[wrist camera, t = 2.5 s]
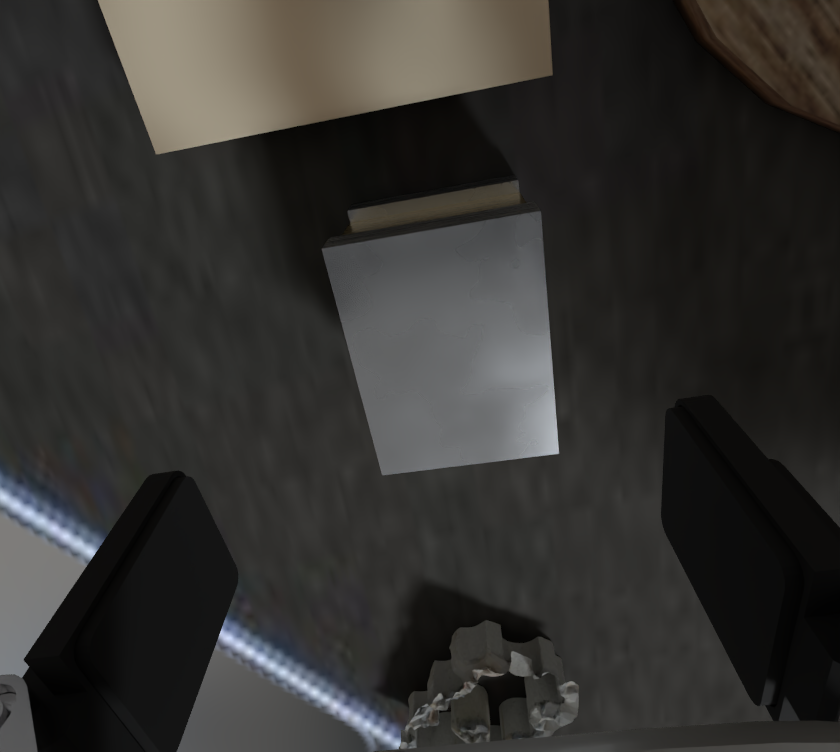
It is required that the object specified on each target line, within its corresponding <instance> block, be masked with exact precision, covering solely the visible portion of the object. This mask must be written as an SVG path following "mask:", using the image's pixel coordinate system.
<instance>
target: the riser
mask: <svg viewBox="0 0 840 752" xmlns="http://www.w3.org/2000/svg"><path fill="white" fill-rule="evenodd" d="M98 2H99V5H100V7H101V10H102V13H103V15H104V18H105V21H106V23H107V26H108V28H109V31H110V34H111V36H112V39H113V42H114V44H115V47H116V50H117V52H118V55H119V57H120V60H121V63H122V65H123V68H124V71H125V73H126V76H127V78H128V81H129V84H130V86H131V89H132V92H133V94H134V97H135V99H136V102H137V105H138V107H139V110H140V113H141V115H142V118H143V121H144V123H145V126H146V128H147V131H148V134H149V136H150V139H151V142H152V144H153V147H154V149H155V152H156V154H161V153H166V152H171V151H176V150H181V149H186V148H191V147H196V146H201V145H206V144H211V143H216V142H221V141H226V140H231V139H236V138H241V137H246V136H251V135H256V134H261V133H266V132H271V131H276V130H281V129H286V128H291V127H296V126H301V125H306V124H311V123H316V122H321V121H326V120H331V119H336V118H341V117H346V116H351V115H356V114H361V113H366V112H371V111H376V110H381V109H386V108H391V107H396V106H401V105H406V104H411V103H416V102H421V101H426V100H431V99H436V98H441V97H446V96H451V95H456V94H461V93H466V92H471V91H476V90H481V89H486V88H491V87H496V86H501V85H506V84H511V83H516V82H521V81H526V80H531V79H536V78H541V77H546V76H551V75H553V73H552V56H551V38H550V21H549V4H548V0H98Z"/></svg>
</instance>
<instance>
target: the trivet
mask: <svg viewBox="0 0 840 752" xmlns="http://www.w3.org/2000/svg"><path fill="white" fill-rule="evenodd" d="M673 2H674V4H675V6H676V7H677V9H678V11H679V13H680V14H681V16H682V18H683V20H684V21H685V23H686V25H687V27H688V28H689V30H690V32H691V34H692V36H693V37H694V39H695V41H696V42H697V43H699V44H700V45H701V46H702V47H703V48H704V49H705V50H706V51H707V52H709V53H710V54H711V55H712V56H713V57H714V58H715V59H716V60H718V61H719V62H720V63H721V64H722V65H723V66H724V67H725V68H727V69H728V70H729V71H730V72H731V73H732V74H733V75H734V76H735V77H737V78H738V79H739V80H740V81H741V82H742V83H743V84H744V85H746V86H747V87H748V88H749V89H750V90H751V91H752V92H753V93H754V94H756V95H757V96H758V97H759V98H760V99H761V100H762V101H763V102H765V103H766V104H768V105H771V106H773V107H776V108H778V109H781V110H783V111H786V112H788V113H791V114H793V115H796V116H798V117H801V118H803V119H806V120H808V121H811V122H813V123H816V124H818V125H821V126H823V127H825V128H828V129H830V130H833V131H835V132H838V133H840V0H673Z"/></svg>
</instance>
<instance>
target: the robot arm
mask: <svg viewBox="0 0 840 752" xmlns="http://www.w3.org/2000/svg"><path fill="white" fill-rule="evenodd" d="M661 518H662V524H663V528H664V531H665V533H666V535H667V537H668V539H669V541H670V543H671V545H672V547H673V549H674V551H675V553H676V555H677V557H678V559H679V561H680V563H681V565H682V567H683V569H684V570H685V572H686V574H687V576H688V578H689V580H690V582H691V584H692V586H693V588H694V590H695V592H696V594H697V596H698V598H699V600H700V602H701V604H702V606H703V607H704V609H705V611H706V613H707V615H708V617H709V619H710V621H711V623H712V625H713V627H714V629H715V631H716V633H717V635H718V637H719V639H720V641H721V643H722V644H723V646H724V648H725V650H726V652H727V654H728V656H729V658H730V660H731V662H732V664H733V666H734V668H735V670H736V672H737V674H738V676H739V678H740V680H741V681H742V683H743V685H744V687H745V689H746V691H747V693H748V695H749V697H750V698H751V700H752V701H753V702H754V704H756V705H757V706H761V705H765V706H766V708H767V710H768V712H769V713H770V715H771V717H772V719H773V721H755V722H740V723H724V724H709V725H693V726H678V727H662V728H647V729H635V730H622V731H610V732H598V733H586V734H574V735H562V736H550V737H538V738H525V739H513V740H501V741H489V742H477V743H466V744H454V745H443V746H432V747H420V748H409V749H397V750H386V751H375V752H840V528H839V526H838V525H837V524H836V523H835V522H834V521H833V520H832V519H831V518H830V516H829V515H828V514H827V513H826V512H825V511H824V510H823V509H822V508H821V506H820V505H819V504H818V503H817V502H816V501H815V500H814V499H813V497H812V496H811V495H810V494H809V493H808V492H807V491H806V490H805V489H804V487H803V486H802V485H801V484H800V483H799V482H798V481H797V480H796V479H795V477H794V476H793V475H792V474H791V473H790V472H789V471H788V470H787V469H786V467H785V466H783V465H782V464H781V463H780V462H779V461H776V460H774V459H767V458H766V456H765V455H764V454H763V453H762V452H761V451H760V449H759V448H758V447H757V446H756V445H755V444H754V443H753V441H752V440H751V439H750V438H749V437H748V436H747V435H746V433H745V432H744V431H743V430H742V429H741V428H740V427H739V425H738V424H737V423H736V422H735V421H734V420H733V419H732V417H731V416H730V415H729V414H728V413H727V412H726V410H725V409H724V408H723V407H722V406H721V405H720V404H719V402H718V401H717V400H716V399H715V398H714V397H713V396H711V395H705V396H698V397H691V398H684V399H678V400H677V401H676V403H675V408H669V409H667V411H666V416H665V439H664V461H663V484H662V506H661ZM237 584H238V570H237V567H236V565H235V563H234V561H233V558H232V556H231V554H230V552H229V550H228V548H227V546H226V544H225V542H224V540H223V538H222V536H221V534H220V532H219V530H218V528H217V526H216V524H215V522H214V520H213V518H212V515H211V513H210V511H209V509H208V507H207V505H206V503H205V501H204V499H203V497H202V495H201V493H200V491H199V489H198V487H197V485H196V483H195V481H194V479H193V478H191V477H188V476H187V477H186V475H185V474H184V473H183V472H181V471H172V472H165V473H158V474H152V475H150V476H148V477H147V479H146V480H145V481H144V483H143V484H142V486H141V487H140V489H139V490H138V492H137V493H136V495H135V496H134V497H133V499H132V500H131V502H130V503H129V505H128V506H127V508H126V509H125V511H124V512H123V514H122V515H121V517H120V518H119V520H118V521H117V523H116V524H115V525H114V527H113V528H112V530H111V531H110V533H109V534H108V536H107V537H106V539H105V540H104V542H103V543H102V545H101V546H100V548H99V549H98V551H97V552H96V554H95V555H94V556H93V558H92V559H91V561H90V562H89V564H88V565H87V567H86V568H85V570H84V571H83V573H82V574H81V576H80V577H79V579H78V580H77V582H76V583H75V585H74V586H73V588H72V589H71V590H70V592H69V593H68V595H67V596H66V598H65V599H64V601H63V602H62V604H61V605H60V607H59V608H58V610H57V611H56V613H55V614H54V616H53V617H52V619H51V620H50V621H49V623H48V624H47V626H46V627H45V629H44V630H43V632H42V633H41V635H40V636H39V638H38V639H37V641H36V642H35V643H34V645H33V646H32V648H31V649H30V651H29V653H28V654H27V655H26V657H25V658H24V661H25V662H26V663H27V664H28V666H29V668H28V670H27V672H26V673H25V675H24V676H23V677H22V678H20V677H19V676H17V675H0V752H176V751H177V749H178V747H179V744H180V741H181V739H182V736H183V733H184V730H185V727H186V725H187V722H188V719H189V717H190V714H191V711H192V708H193V705H194V703H195V700H196V697H197V695H198V692H199V689H200V686H201V684H202V681H203V678H204V675H205V673H206V670H207V667H208V664H209V661H210V659H211V656H212V653H213V651H214V648H215V645H216V642H217V640H218V637H219V634H220V631H221V629H222V626H223V623H224V620H225V617H226V615H227V612H228V609H229V606H230V604H231V601H232V598H233V595H234V593H235V590H236V587H237Z"/></svg>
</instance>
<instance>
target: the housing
mask: <svg viewBox="0 0 840 752" xmlns="http://www.w3.org/2000/svg"><path fill="white" fill-rule="evenodd" d="M348 216H349V220H350V223H349V225H348V226H347V228H346V230H345V231H344V233H343V235H341V236H335V237H330V238H329V239H328V240H327V242H326V243H325V245H324V246H323V247H322V252H323V256H324V260H325V264H326V267H327V271H328V275H329V278H330V282H331V286H332V290H333V293H334V297H335V301H336V305H337V308H338V312H339V316H340V319H341V323H342V327H343V331H344V334H345V338H346V342H347V346H348V349H349V353H350V357H351V360H352V364H353V368H354V372H355V375H356V379H357V383H358V386H359V390H360V394H361V398H362V401H363V405H364V409H365V413H366V416H367V420H368V424H369V427H370V431H371V435H372V439H373V442H374V446H375V450H376V454H377V457H378V461H379V465H380V468H381V472H382V475H389V474H397V473H405V472H413V471H422V470H430V469H438V468H446V467H454V466H462V465H470V464H479V463H487V462H495V461H503V460H511V459H519V458H527V457H536V456H544V455H552V454H559V448H558V435H557V421H556V408H555V395H554V381H553V368H552V354H551V341H550V328H549V314H548V301H547V287H546V274H545V261H544V247H543V234H542V220H541V211H540V209H539V208H538V206H537V205H536V204H535V202H529V203H526V201H525V200H524V198H523V197H522V195H521V194H520V192H519V182H518V179H517V178H516V176H515V175H511V176H506V177H500V178H495V179H489V180H484V181H478V182H473V183H467V184H462V185H456V186H451V187H445V188H440V189H434V190H429V191H423V192H418V193H412V194H407V195H401V196H396V197H390V198H385V199H379V200H374V201H368V202H363V203H357V204H352V205H351V206H350V208H349V209H348Z"/></svg>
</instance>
